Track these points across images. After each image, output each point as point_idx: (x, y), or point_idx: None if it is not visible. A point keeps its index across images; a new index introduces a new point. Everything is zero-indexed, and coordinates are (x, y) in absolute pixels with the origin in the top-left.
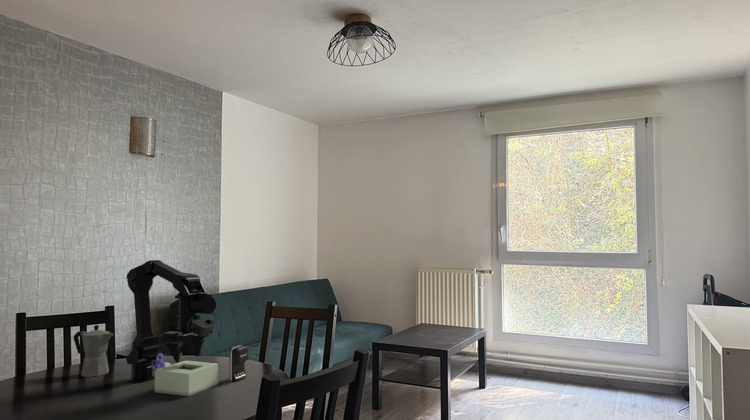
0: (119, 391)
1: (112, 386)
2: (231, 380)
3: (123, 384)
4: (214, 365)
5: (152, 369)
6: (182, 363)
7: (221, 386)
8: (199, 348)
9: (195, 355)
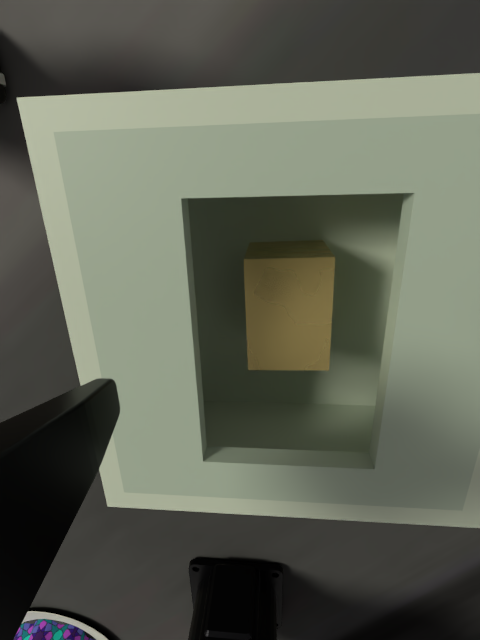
0: (437, 560)
1: (370, 622)
2: (3, 74)
3: (329, 605)
4: (87, 96)
5: (100, 633)
6: (197, 470)
7: (148, 53)
8: (30, 430)
9: (115, 414)
